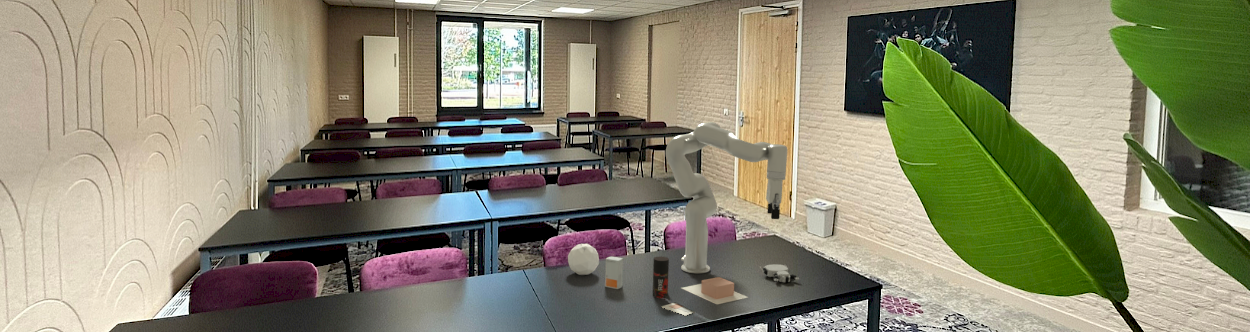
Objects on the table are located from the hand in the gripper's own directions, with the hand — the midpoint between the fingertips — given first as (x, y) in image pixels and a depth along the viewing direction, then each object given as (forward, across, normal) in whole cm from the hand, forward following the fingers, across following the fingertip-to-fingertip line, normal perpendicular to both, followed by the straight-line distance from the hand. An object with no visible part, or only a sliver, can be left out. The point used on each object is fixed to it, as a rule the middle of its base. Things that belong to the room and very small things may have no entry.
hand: (773, 216), depth 297 cm
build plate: (+29, +17, -24) cm, 41 cm away
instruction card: (+29, +34, -37) cm, 58 cm away
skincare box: (+30, +11, -64) cm, 71 cm away
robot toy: (+29, -7, +6) cm, 31 cm away
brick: (+28, +18, -23) cm, 40 cm away
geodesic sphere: (+30, -5, -78) cm, 84 cm away
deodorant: (+30, +20, -45) cm, 57 cm away
